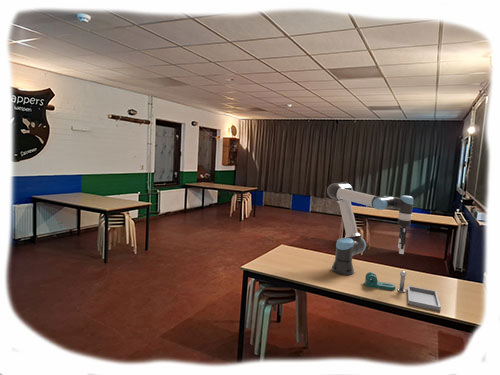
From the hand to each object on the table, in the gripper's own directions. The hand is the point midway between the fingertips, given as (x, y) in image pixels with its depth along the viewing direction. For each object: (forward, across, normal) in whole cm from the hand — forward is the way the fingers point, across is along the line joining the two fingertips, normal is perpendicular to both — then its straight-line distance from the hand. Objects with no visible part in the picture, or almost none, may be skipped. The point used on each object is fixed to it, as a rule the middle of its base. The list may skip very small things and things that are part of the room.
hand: (400, 250), depth 216 cm
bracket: (+23, -13, +10) cm, 28 cm away
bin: (+22, -21, -13) cm, 33 cm away
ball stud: (+22, -13, -2) cm, 26 cm away
